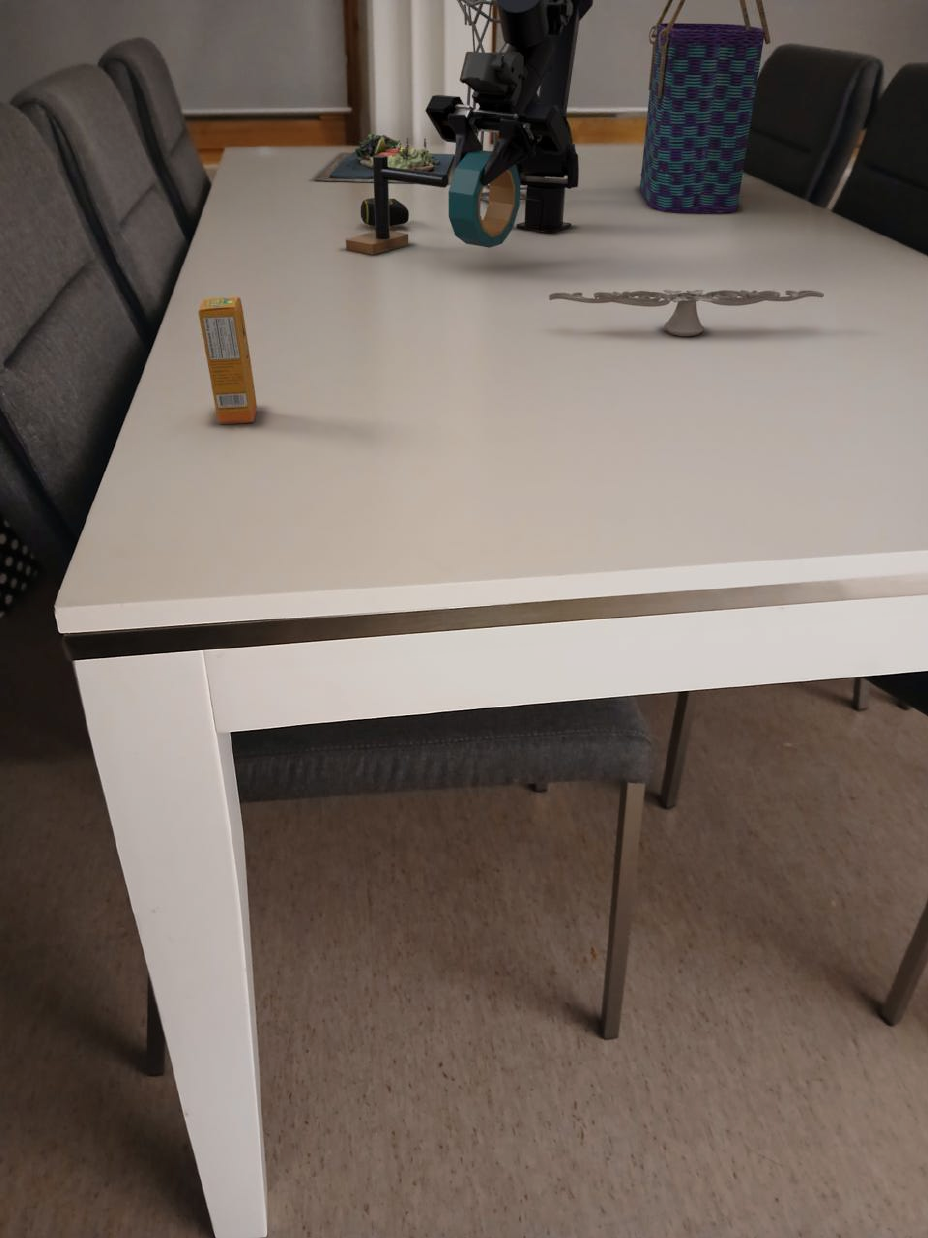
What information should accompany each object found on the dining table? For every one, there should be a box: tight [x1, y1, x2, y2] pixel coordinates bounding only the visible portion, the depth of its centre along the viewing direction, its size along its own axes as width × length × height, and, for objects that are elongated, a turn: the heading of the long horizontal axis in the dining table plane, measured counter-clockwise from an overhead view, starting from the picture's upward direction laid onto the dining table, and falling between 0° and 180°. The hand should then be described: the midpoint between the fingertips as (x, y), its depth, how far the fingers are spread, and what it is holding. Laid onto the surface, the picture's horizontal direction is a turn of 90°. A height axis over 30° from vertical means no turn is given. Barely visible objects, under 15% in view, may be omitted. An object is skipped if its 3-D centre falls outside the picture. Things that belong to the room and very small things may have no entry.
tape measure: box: [360, 197, 410, 228], centre depth 149 cm, size 7×7×4 cm
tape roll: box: [448, 149, 521, 249], centre depth 125 cm, size 11×4×11 cm, turn 145°
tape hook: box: [373, 155, 449, 239], centre depth 132 cm, size 2×12×12 cm, turn 55°
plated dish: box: [314, 132, 455, 185], centre depth 194 cm, size 35×28×7 cm
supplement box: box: [197, 296, 258, 425], centre depth 82 cm, size 3×3×10 cm
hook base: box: [345, 230, 409, 256], centre depth 138 cm, size 8×5×2 cm, turn 145°
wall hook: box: [548, 289, 825, 337], centre depth 106 cm, size 5×30×4 cm, turn 94°
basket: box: [639, 0, 771, 215], centre depth 161 cm, size 26×18×40 cm
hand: (468, 181), depth 121 cm, fingers closed on tape roll, 4 cm apart
